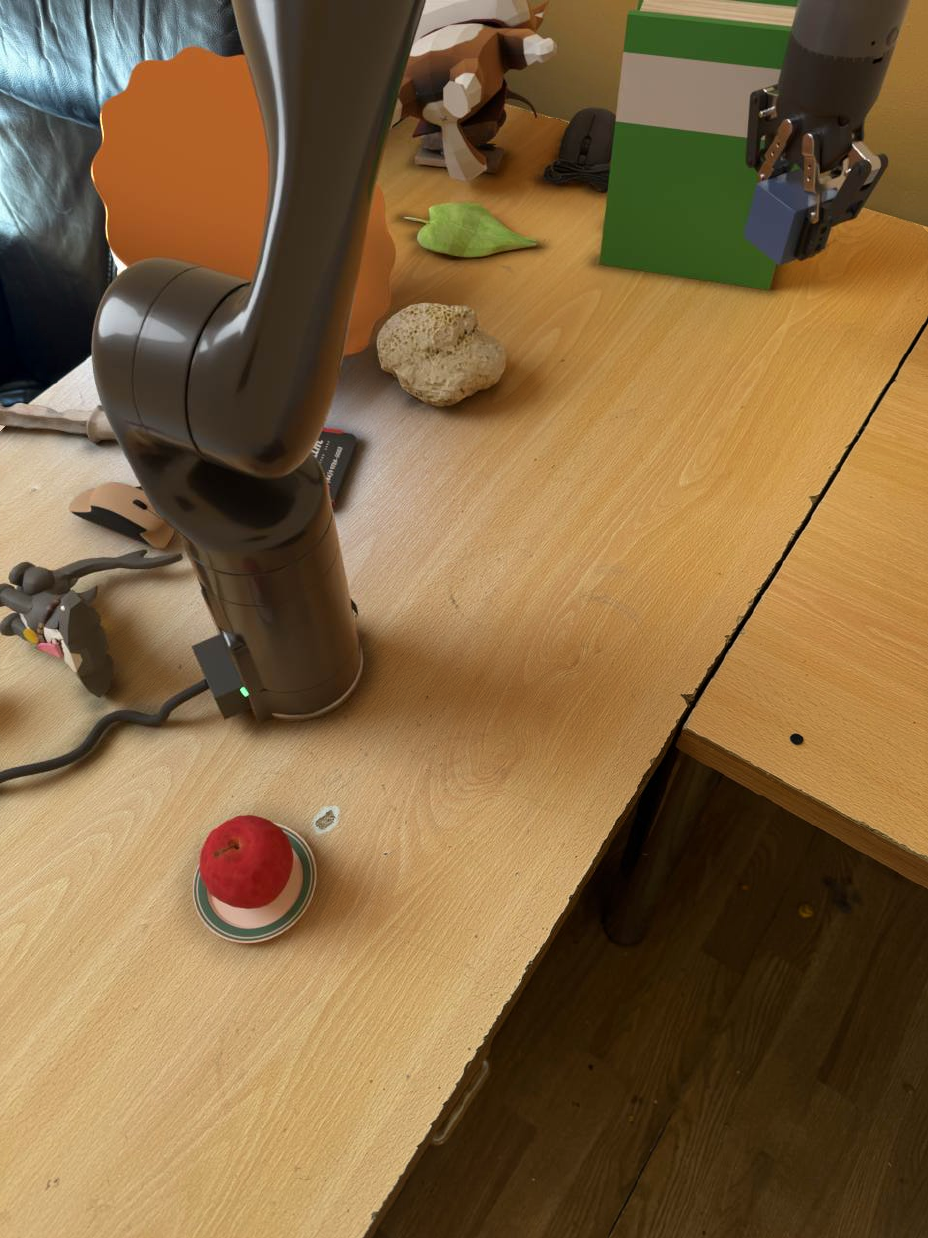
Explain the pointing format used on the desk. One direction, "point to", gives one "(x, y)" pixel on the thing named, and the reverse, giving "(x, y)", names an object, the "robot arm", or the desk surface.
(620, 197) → the hardback book
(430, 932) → the desk surface
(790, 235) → the cube
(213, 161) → the orange scalloped disc
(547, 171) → the computer mouse
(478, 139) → the figurine
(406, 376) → the decorative item
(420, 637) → the desk surface
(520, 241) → the leaf
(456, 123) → the toy
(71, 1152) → the desk surface
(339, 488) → the black flat block
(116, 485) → the computer mouse
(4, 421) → the carved wooden stick
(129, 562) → the toy monster
